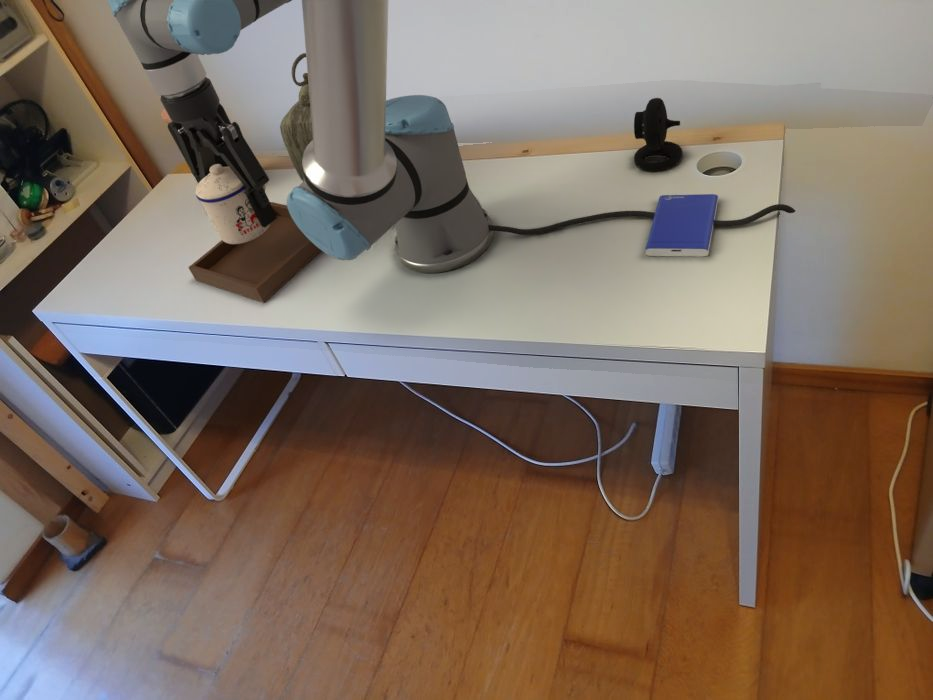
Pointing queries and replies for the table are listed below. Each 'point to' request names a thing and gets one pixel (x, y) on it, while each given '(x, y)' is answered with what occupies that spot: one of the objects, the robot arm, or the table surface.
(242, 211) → the teacup with lid
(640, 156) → the webcam
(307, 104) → the green bell
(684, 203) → the hard drive
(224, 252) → the tray
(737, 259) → the table surface
